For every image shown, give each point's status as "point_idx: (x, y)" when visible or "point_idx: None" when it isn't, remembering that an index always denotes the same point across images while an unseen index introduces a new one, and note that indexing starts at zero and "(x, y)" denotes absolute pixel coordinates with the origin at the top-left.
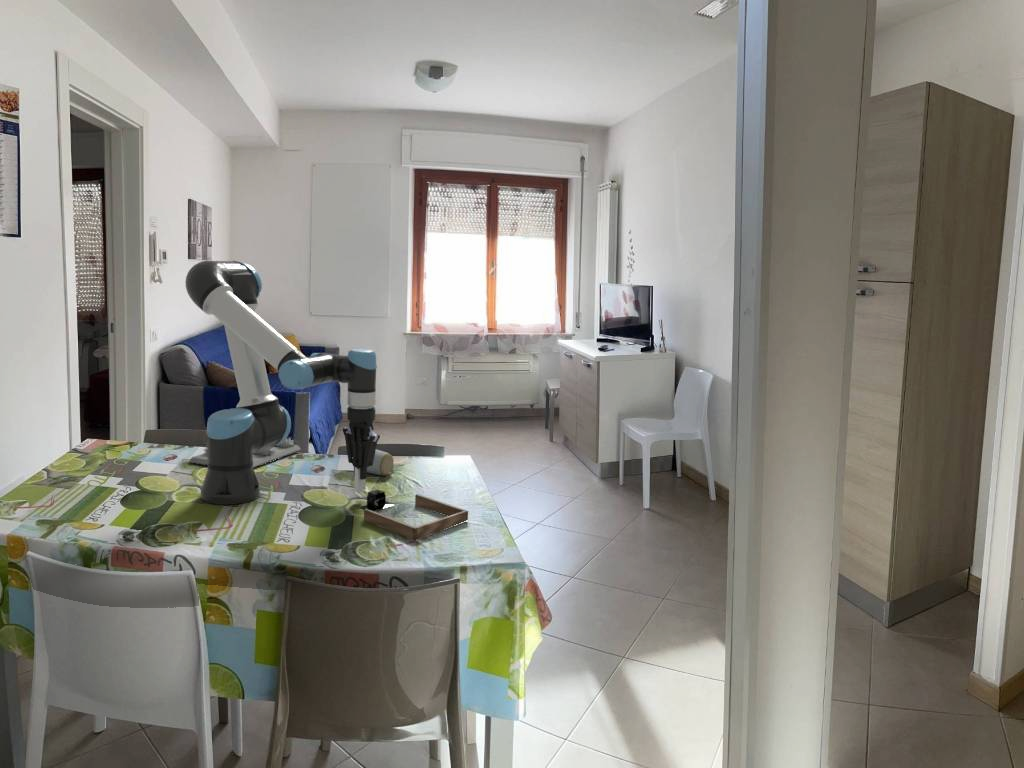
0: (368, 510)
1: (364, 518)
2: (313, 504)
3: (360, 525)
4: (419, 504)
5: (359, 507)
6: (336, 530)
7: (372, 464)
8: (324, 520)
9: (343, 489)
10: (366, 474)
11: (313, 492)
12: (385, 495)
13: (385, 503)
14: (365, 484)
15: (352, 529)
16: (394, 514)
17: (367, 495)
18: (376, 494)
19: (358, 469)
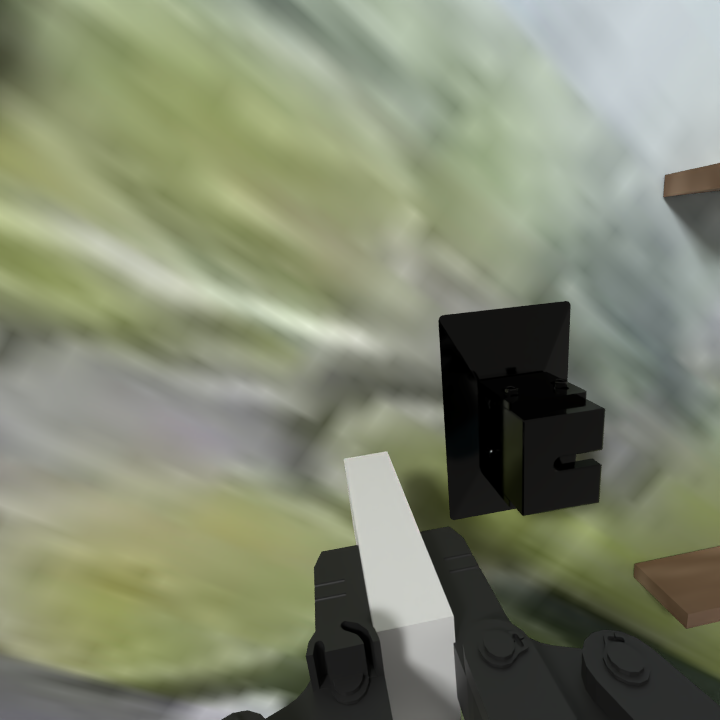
0: (715, 617)
1: (647, 584)
2: (270, 681)
3: (665, 611)
4: (716, 190)
5: (469, 510)
6: None
7: (660, 660)
8: None
9: (68, 425)
10: (477, 565)
11: (42, 613)
12: (583, 392)
13: (547, 372)
14: (396, 474)
15: (674, 654)
16: (681, 408)
17: (512, 505)
18: (597, 486)
19: (457, 704)
